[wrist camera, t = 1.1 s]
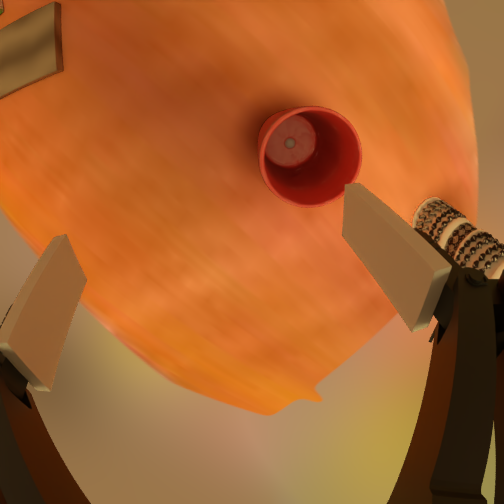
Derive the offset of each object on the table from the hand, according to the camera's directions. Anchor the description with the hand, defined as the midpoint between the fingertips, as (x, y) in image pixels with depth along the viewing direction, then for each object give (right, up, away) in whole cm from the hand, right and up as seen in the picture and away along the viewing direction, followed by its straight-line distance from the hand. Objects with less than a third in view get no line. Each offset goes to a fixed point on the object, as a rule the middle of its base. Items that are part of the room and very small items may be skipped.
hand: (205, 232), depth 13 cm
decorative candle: (+34, +5, +33) cm, 48 cm away
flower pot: (+7, +13, +23) cm, 27 cm away
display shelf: (-29, +24, +8) cm, 39 cm away
